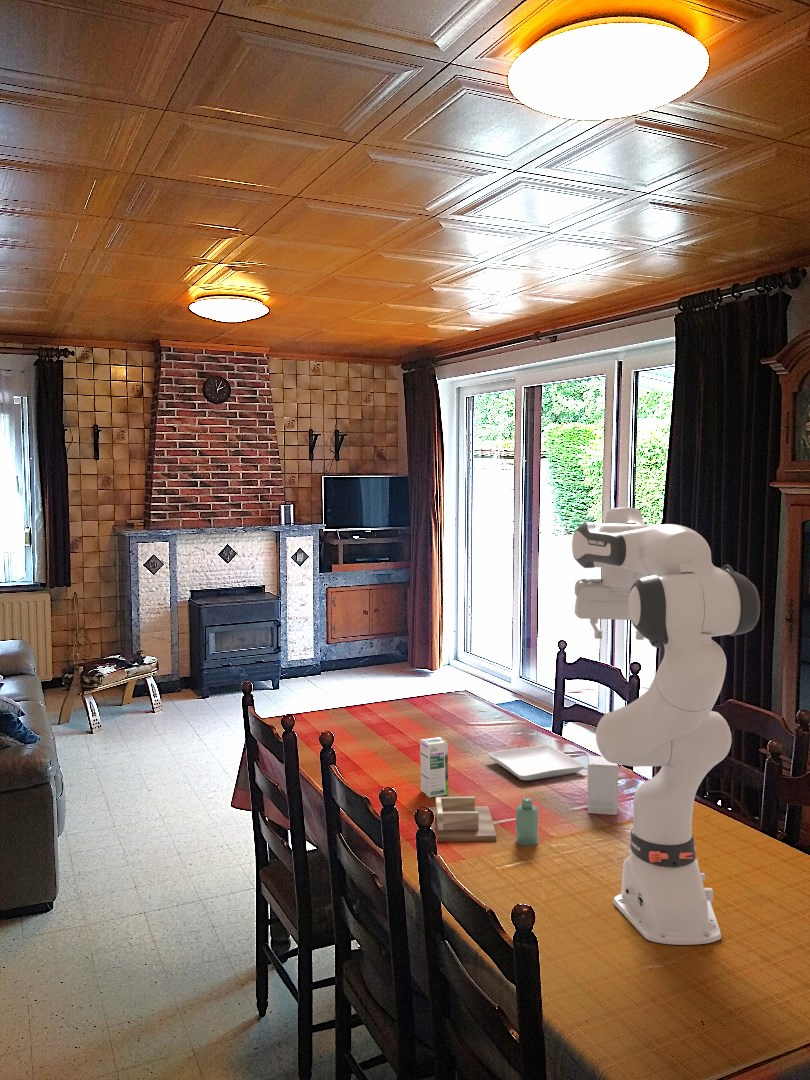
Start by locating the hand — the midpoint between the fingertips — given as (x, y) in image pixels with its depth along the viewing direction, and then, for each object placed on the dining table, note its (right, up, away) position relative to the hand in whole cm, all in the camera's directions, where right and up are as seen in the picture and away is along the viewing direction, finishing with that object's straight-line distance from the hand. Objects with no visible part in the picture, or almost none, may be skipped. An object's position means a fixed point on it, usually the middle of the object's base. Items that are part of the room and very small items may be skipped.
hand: (618, 638), depth 198 cm
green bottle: (-21, -47, +2) cm, 52 cm away
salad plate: (-11, -44, +52) cm, 69 cm away
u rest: (-36, -47, +12) cm, 60 cm away
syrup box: (-41, -45, +34) cm, 70 cm away
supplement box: (+1, -46, +22) cm, 51 cm away
